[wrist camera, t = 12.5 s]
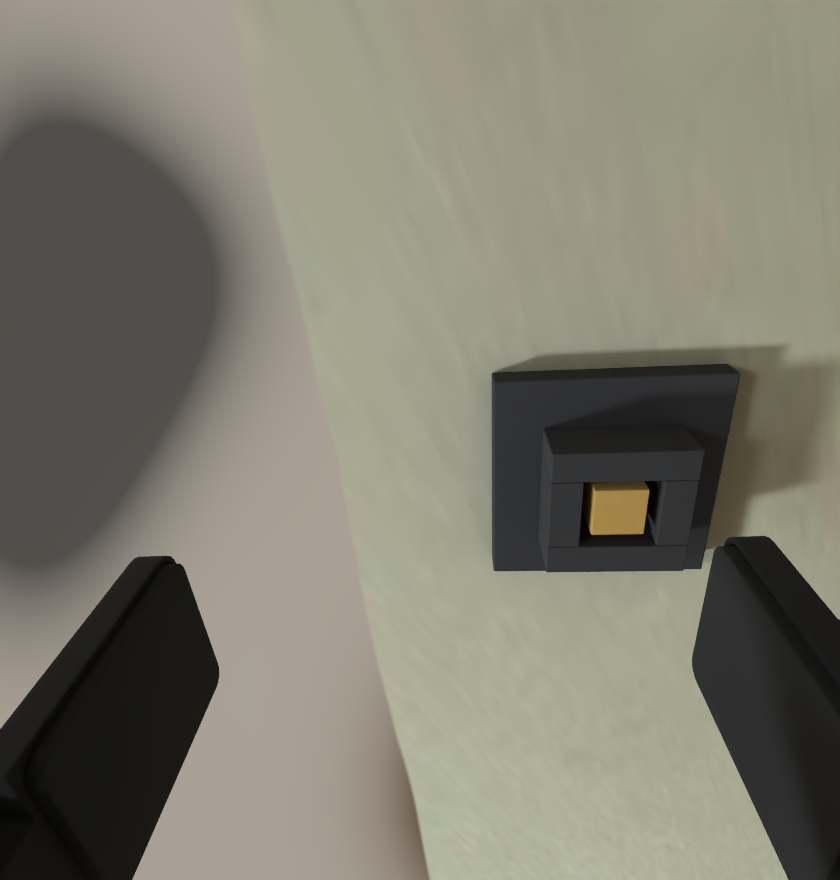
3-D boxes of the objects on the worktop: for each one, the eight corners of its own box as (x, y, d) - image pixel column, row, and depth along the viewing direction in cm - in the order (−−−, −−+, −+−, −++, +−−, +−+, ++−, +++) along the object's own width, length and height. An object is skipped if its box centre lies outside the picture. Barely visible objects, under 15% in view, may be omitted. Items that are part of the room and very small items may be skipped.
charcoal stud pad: (491, 372, 29) (497, 404, 25) (727, 363, 28) (773, 395, 24) (492, 556, 34) (497, 607, 30) (691, 553, 33) (724, 605, 29)
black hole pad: (543, 428, 29) (551, 454, 26) (681, 423, 28) (705, 450, 26) (538, 538, 32) (546, 572, 29) (663, 536, 31) (683, 571, 29)
